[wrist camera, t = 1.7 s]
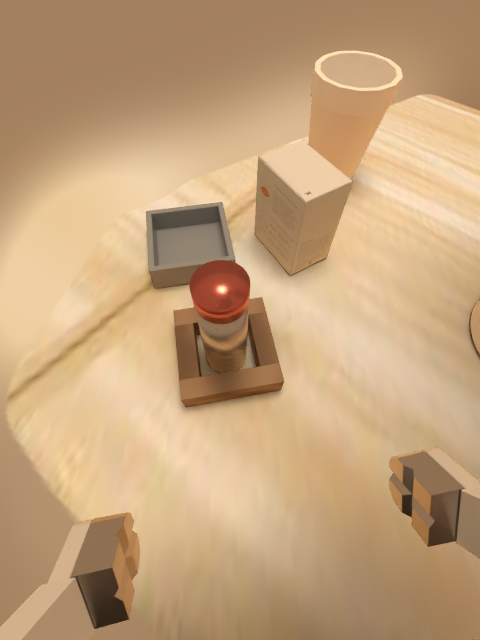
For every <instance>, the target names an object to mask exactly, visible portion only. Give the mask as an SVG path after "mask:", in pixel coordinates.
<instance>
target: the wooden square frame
mask: <svg viewBox="0 0 480 640" xmlns="http://www.w3.org/2000/svg"><path fill="white" fill-rule="evenodd" d="M174 323H175V334H176V345H177V357H178V368H179V379H180V391H181V400H182V402H183V403H184V405H185V407H189V406H195V405H200V404H206V403H211V402H217V401H222V400H228V399H233V398H239V397H244V396H250V395H255V394H261V393H266V392H272V391H277V390H281V388H282V386H283V383H284V379H283V375H282V371H281V368H280V364H279V360H278V356H277V352H276V348H275V345H274V341H273V337H272V333H271V329H270V326H269V322H268V318H267V314H266V310H265V307H264V303H263V299H262V297H261V298H254V299H249V314H248V329H249V334H250V338H251V343H252V347H253V352H254V356H255V361H256V365H257V367H254V368H248V369H242V370H236V371H231V372H225V373H219V374H213V375H208V376H202V377H201V370H200V362H199V354H198V346H197V338H196V335H198V334H201V333H200V329H199V324H198V320H197V316H196V312H195V308H188V309H182V310H175V311H174Z"/></svg>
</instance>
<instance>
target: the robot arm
mask: <svg viewBox="0 0 480 640" xmlns="http://www.w3.org/2000/svg"><path fill="white" fill-rule="evenodd" d="M470 326H471V333H472V337H473V341H474V344H475V346H476V348H477V350H478V352H479V354H480V300H479V301H478V302H477V304H476V305H475V307H474V309H473V311H472V315H471V322H470ZM389 467H390V469H391V470H392V471H393V472H394V473H393V474H392V476H391V477H390V479H389V487H390V491H391V494H392V497H393V499H394V501H395V503H396V505H397V506H398V508H399V509H400V510H401V512H402V513H404V514H406V515H408V516H410V517H411V518H412V526H413V528H414V529H415V530H416V532H417V533H418V534H419V536H420V537H421V538H422V540H423V541H424V542H425V544H426V545H427V546H428V547H429V546H434V545H439V544H444V543H449V542H454V541H456V543H457V544H459V545H460V546H462V547H463V548H465V549H466V550H468V551H469V552H471V553H472V554H474V555H475V556H477V557H478V558H480V482H479V481H477V480H476V479H475V478H474V477H473V476H472V475H470V474H469V473H468V472H467V471H466V470H465V469H463V468H462V467H461V466H460V465H459V464H458V463H456V462H455V461H454V460H453V459H452V458H451V457H449V456H448V455H447V454H446V453H445V452H444V451H442V450H441V449H439V448H437V447H434V448H430V449H425V450H421V451H416V452H412V453H407V454H403V455H398V456H394V457H391V459H390V466H389ZM133 523H134V521H133V518H132V515H131V513H122V514H117V515H112V516H106V517H101V518H95V519H92V520H86V521H81V522H76V523H75V524H74V525H73V526H72V528H71V530H70V532H69V534H68V537H67V539H66V541H65V544H64V546H63V548H62V550H61V553H60V555H59V558H58V560H57V562H56V564H55V566H54V569H53V571H52V573H51V576H50V578H49V580H48V582H47V584H43V585H41V586H40V587H39V588H38V589H37V590H36V591H35V592H34V593H33V594H32V595H31V596H30V597H29V598H28V599H27V600H26V601H25V602H24V603H23V604H22V605H21V606H20V607H19V608H18V609H17V610H16V611H15V612H14V614H13V615H12V616H11V617H10V618H9V619H8V620H7V621H6V622H5V623H4V624H3V625H2V626H1V627H0V640H90V639H91V637H92V636H93V634H94V632H95V629H97V628H100V627H104V626H108V625H111V624H114V623H118V622H122V621H126V620H129V617H130V612H131V606H132V601H133V595H134V587H133V584H132V580H133V578H134V577H135V576H136V574H137V573H138V567H139V560H140V546H139V539H138V535H137V533H135V532H134V531H132V528H133ZM473 640H480V638H476V639H473Z"/></svg>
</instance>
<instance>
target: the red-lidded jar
mask: <svg viewBox="0 0 480 640" xmlns="http://www.w3.org/2000/svg"><path fill="white" fill-rule="evenodd" d="M190 291H191V295H192V299H193V304H194V308H195V312H196V316H197V320H198V324H199V329H200V333H201V337H202V341H203V345H204V349H205V354H206V358H207V361H208V364H209V365H210V367H211V368H212V369H214V370H215V371H217V372H219V373H225V372H231V371H236V370H238V369H240V368H241V367H242V365H243V364H244V362H245V359H246V350H247V332H248V314H249V296H250V279H249V276H248V274H247V272H246V271H245V270H244V269H243V268H242V267H241V266H240V265H238V264H236V263H234V262H231V261H227V260H215V261H210V262H207V263H205V264H203V265H201V266H200V267H199V268H198V269H197V270H196V271H195V272H194V273H193V275H192V277H191V280H190Z"/></svg>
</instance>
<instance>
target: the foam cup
mask: <svg viewBox="0 0 480 640" xmlns="http://www.w3.org/2000/svg"><path fill="white" fill-rule="evenodd" d="M402 78H403V77H402V72H401V68H400V67H399V66H397V65H396V64H395V63H394V62H392V61H391V60H390V59H387V58H384V57H382V56H379V55H377V54H373V53H367V52H361V51H338V52H334V53H330V54H327V55H324V56H323V57H321V58H320V59H319V60H317V61H316V62H315V68H314V73H313V79H312V85H311V97H312V104H311V118H310V131H309V144H308V145H309V146H310V147H312V148H313V149H314V150H315V151H316V152H318V153H319V154H320V155H321V156H323V157H324V158H325V159H326V160H327V161H329V162H330V163H331V164H332V165H334V166H335V167H336V168H337V169H339V170H340V171H341V172H342V173H343V174H345V175H346V176H347V177H348V178H350V179H351V178H352V176H353V174H354V172H355V170H356V168H357V166H358V165H359V163H360V161H361V159H362V157H363V155H364V153H365V151H366V149H367V147H368V145H369V143H370V141H371V139H372V138H373V136H374V134H375V132H376V130H377V128H378V126H379V124H380V122H381V120H382V118H383V116H384V114H385V112H386V111H387V109H388V107H389V106H390V105H391V104H392V102H393V101H394V98H395V95H396V93H397V90H398V88H399V85H400V83H401V80H402Z"/></svg>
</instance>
